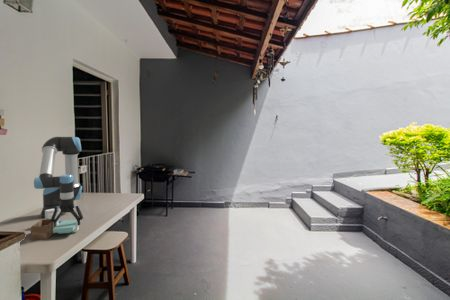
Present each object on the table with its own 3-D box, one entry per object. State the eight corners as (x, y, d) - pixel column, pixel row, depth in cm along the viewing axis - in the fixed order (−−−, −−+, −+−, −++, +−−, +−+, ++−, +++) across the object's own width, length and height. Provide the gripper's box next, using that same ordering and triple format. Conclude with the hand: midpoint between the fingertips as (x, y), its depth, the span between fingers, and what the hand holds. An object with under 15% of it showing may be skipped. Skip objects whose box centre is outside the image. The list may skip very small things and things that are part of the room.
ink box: (59, 222, 176) (58, 207, 175) (61, 224, 173) (61, 208, 172) (44, 226, 169) (44, 209, 168) (47, 227, 166) (46, 211, 165)
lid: (62, 226, 163) (62, 220, 163) (80, 225, 166) (80, 219, 166) (53, 235, 149) (52, 228, 148) (72, 233, 151) (72, 227, 151)
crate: (41, 231, 160) (41, 219, 159) (57, 230, 162) (56, 218, 162) (30, 239, 146) (30, 227, 146) (47, 238, 148) (47, 226, 148)
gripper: (43, 200, 150) (44, 234, 151) (85, 198, 156) (85, 231, 157) (48, 197, 157) (49, 230, 158) (88, 196, 163) (88, 227, 164)
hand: (67, 230), depth 157 cm, fingers closed on lid, 11 cm apart
